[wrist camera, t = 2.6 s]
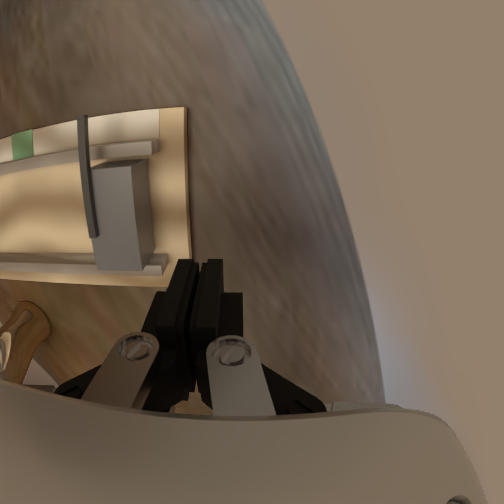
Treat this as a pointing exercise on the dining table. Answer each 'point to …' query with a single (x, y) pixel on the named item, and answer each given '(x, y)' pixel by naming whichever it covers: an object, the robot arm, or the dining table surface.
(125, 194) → the slider
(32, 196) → the gauge board
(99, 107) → the dining table surface
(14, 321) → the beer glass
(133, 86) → the dining table surface
